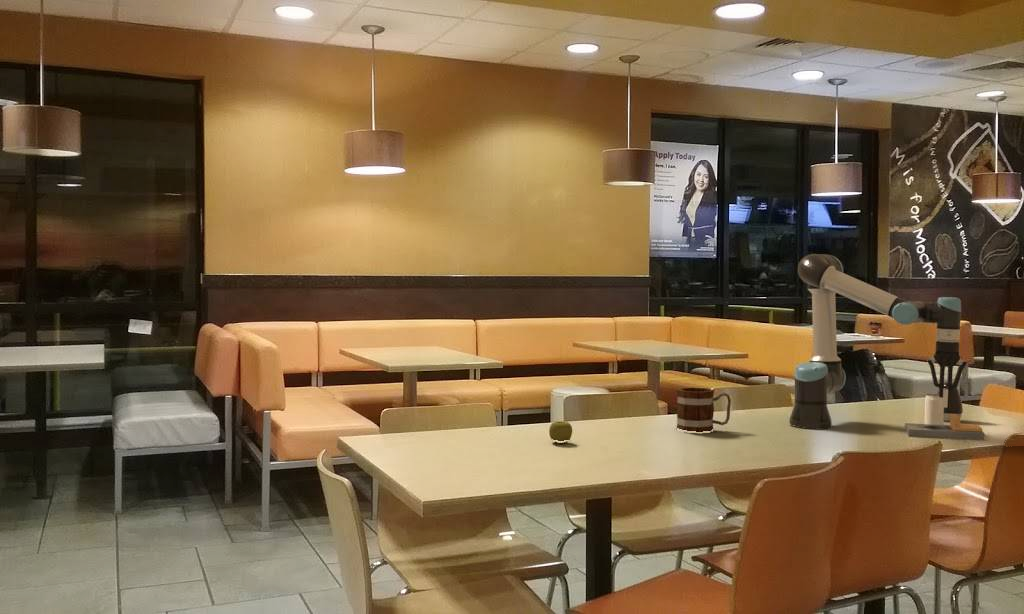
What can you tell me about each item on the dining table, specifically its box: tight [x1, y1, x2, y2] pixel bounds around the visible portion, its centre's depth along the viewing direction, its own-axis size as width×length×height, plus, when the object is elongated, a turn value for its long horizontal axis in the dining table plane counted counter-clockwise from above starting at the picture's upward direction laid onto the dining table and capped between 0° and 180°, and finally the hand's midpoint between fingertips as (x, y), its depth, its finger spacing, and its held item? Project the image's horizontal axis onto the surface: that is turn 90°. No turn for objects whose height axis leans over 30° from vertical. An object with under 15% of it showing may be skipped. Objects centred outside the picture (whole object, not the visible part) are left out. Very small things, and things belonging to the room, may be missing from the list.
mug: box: [676, 387, 732, 432], centre depth 332 cm, size 20×14×15 cm
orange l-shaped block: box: [949, 414, 983, 432], centre depth 322 cm, size 9×9×4 cm
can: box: [923, 393, 944, 425], centre depth 342 cm, size 6×6×12 cm
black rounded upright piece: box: [936, 381, 964, 423], centre depth 356 cm, size 10×10×15 cm
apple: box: [548, 421, 573, 441], centre depth 307 cm, size 8×8×7 cm
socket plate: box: [904, 422, 985, 441], centre depth 325 cm, size 24×14×2 cm, turn 72°
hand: (944, 406), depth 324 cm, fingers closed
